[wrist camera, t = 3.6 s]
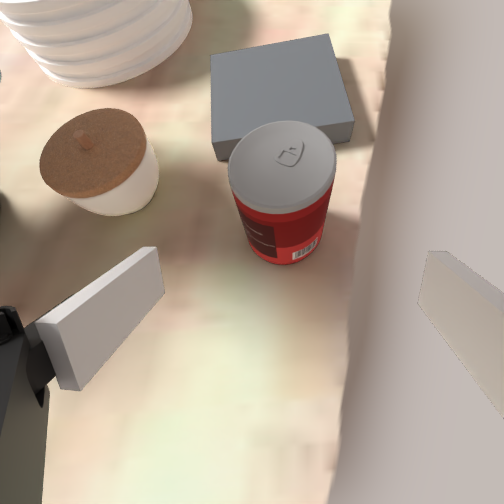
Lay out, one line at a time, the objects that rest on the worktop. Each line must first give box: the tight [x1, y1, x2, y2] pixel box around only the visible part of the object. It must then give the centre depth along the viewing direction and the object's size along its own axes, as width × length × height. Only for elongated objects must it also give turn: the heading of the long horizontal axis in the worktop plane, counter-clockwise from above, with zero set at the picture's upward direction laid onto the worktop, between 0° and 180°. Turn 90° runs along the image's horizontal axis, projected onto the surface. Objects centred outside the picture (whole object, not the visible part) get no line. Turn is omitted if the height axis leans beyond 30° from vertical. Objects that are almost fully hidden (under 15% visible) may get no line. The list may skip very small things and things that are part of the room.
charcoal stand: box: [210, 34, 355, 161], centre depth 36 cm, size 16×16×3 cm
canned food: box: [228, 121, 336, 265], centre depth 24 cm, size 8×8×11 cm
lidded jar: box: [40, 108, 159, 216], centre depth 30 cm, size 11×11×9 cm
